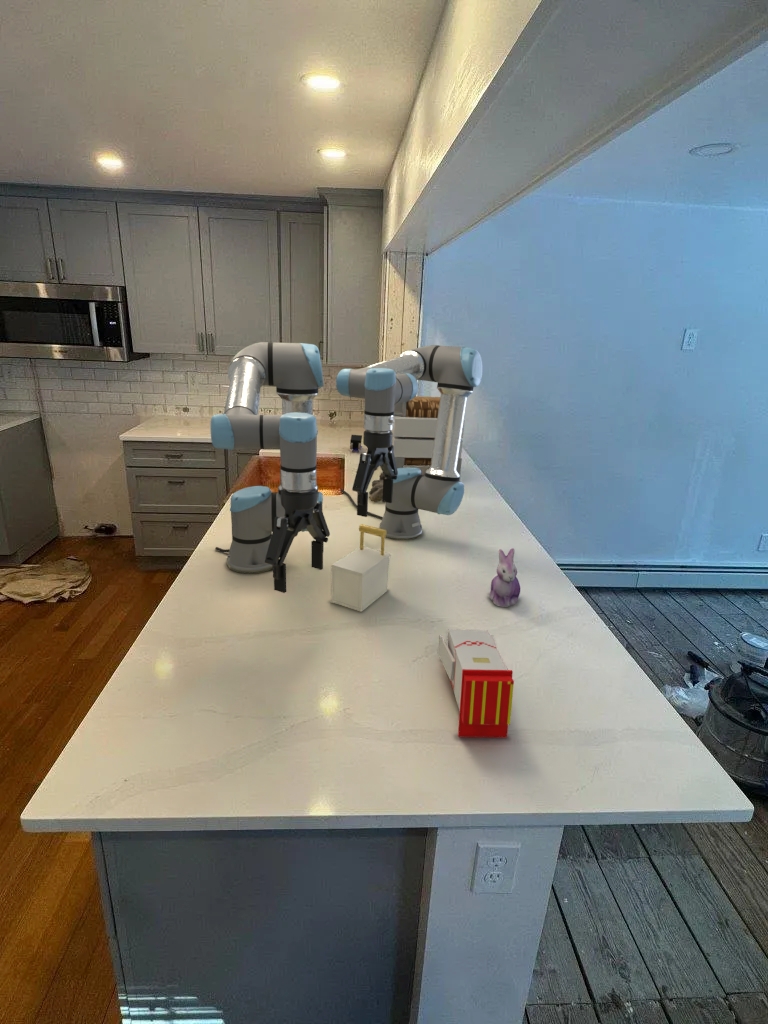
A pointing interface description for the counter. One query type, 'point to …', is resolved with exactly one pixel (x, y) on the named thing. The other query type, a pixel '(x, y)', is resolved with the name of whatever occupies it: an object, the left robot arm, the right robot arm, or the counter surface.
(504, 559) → the figurine
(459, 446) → the right robot arm
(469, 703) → the toy
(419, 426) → the white wooden crate
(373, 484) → the fossil
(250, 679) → the counter surface
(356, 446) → the figurine character
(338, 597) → the chest
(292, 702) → the counter surface
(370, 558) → the lid
